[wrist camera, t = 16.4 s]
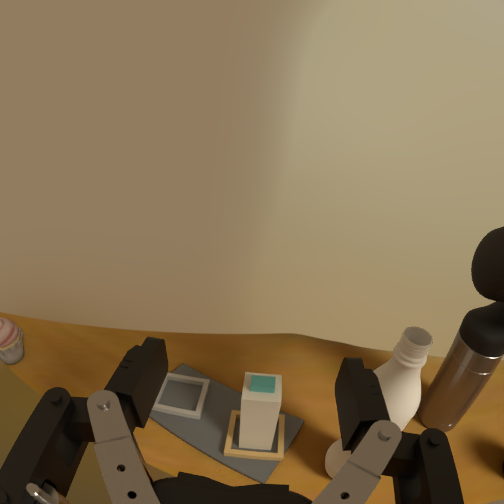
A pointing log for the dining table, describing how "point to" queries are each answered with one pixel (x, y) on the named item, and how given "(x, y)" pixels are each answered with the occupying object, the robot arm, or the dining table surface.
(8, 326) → the cupcake
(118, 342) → the dining table surface
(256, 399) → the white tall box
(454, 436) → the dining table surface
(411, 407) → the water bottle
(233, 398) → the panel
